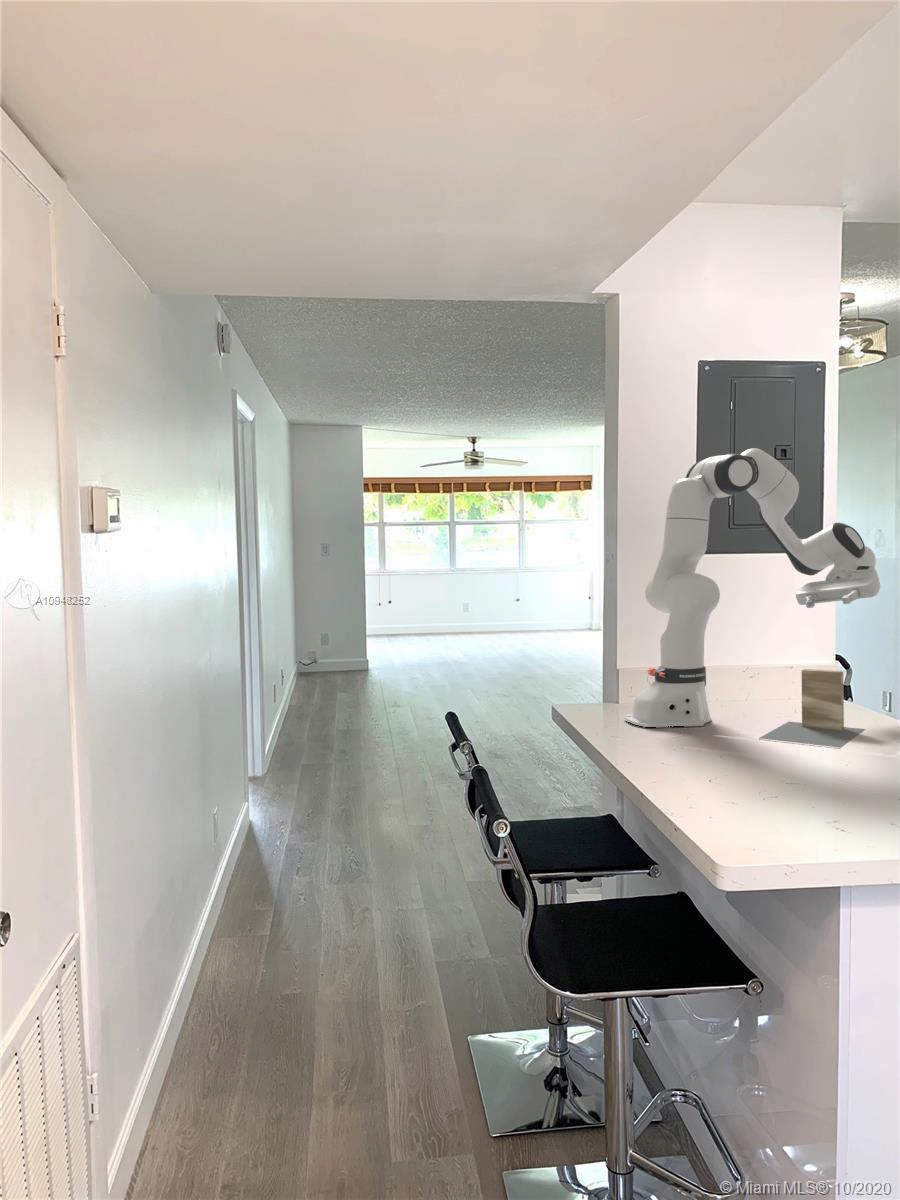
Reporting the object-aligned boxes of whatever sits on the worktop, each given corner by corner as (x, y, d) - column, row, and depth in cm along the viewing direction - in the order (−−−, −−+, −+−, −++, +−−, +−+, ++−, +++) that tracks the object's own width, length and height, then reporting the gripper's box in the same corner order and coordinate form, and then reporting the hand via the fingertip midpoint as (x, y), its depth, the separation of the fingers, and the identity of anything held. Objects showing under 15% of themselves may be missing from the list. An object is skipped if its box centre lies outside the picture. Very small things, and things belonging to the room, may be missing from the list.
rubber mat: (788, 723, 214) (788, 721, 214) (865, 730, 203) (865, 729, 203) (758, 739, 197) (758, 738, 197) (840, 749, 186) (840, 747, 186)
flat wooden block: (805, 724, 210) (804, 668, 209) (844, 728, 204) (843, 671, 204) (802, 726, 208) (801, 670, 207) (840, 730, 202) (840, 672, 201)
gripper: (802, 575, 232) (784, 597, 223) (880, 565, 217) (863, 587, 208) (809, 596, 234) (791, 618, 225) (887, 587, 219) (871, 610, 210)
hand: (826, 603), depth 216 cm, fingers open, 8 cm apart
